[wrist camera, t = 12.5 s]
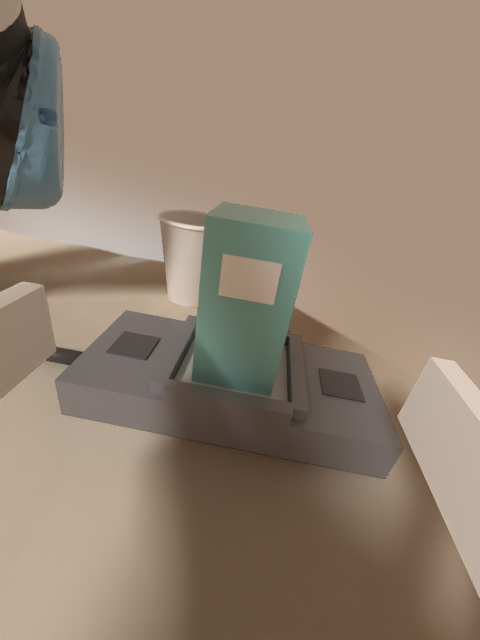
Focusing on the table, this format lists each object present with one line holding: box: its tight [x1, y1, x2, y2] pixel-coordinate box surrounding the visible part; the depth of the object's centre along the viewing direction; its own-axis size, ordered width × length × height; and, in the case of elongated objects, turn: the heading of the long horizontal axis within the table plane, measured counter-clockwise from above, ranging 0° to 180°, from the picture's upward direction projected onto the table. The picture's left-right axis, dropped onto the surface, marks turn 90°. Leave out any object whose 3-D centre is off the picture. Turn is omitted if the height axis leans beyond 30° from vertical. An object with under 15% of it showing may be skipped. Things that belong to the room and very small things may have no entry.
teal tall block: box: [191, 202, 313, 396], centre depth 20 cm, size 6×6×11 cm
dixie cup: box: [158, 210, 207, 307], centre depth 36 cm, size 8×8×10 cm
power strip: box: [46, 310, 404, 479], centre depth 24 cm, size 31×10×4 cm, turn 82°
